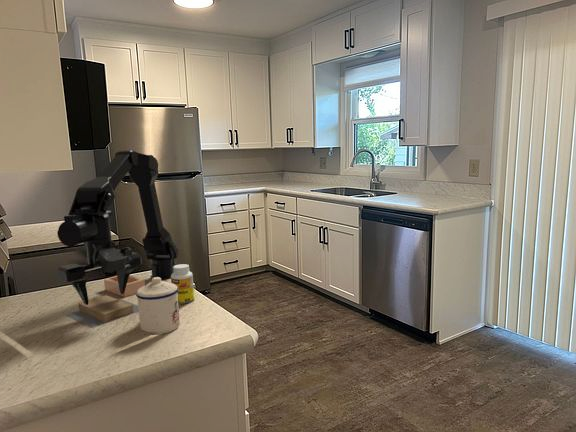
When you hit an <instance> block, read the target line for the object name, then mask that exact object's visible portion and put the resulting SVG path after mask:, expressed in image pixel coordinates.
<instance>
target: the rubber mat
mask: <svg viewBox="0 0 576 432" xmlns="http://www.w3.org/2000/svg"><path fill="white" fill-rule="evenodd" d="M116 299H118V300H121V301H124V302H126V303H129V304H132V305H133V312H134V313H131V314H128V315H125V316H122V317H119V318H117V319H114V320H111V321H108V322H103V321H101V320H99V319H97V318H95V317H92V316H90V315H88V314H86V313H83V312H81V311H79V309H78V310H75V311H71V312H69V313H64V315H65V316H66V317H68V318H70V319H72V320H74V321H76V322H79V323H80V324H82V325H84V326H87V327H89V328H91V329H93V328H95V327H99V326H102V325H104V324H108V323H111V322H113V321H116V320H119V319H122V318H125V317H129V316H131V315H134V314H137V313H139V308H138V304H134V303H131V302H129V301H126V300H124V299H121V298H116Z"/></svg>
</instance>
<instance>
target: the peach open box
mask: <svg viewBox="0 0 576 432" xmlns="http://www.w3.org/2000/svg"><path fill="white" fill-rule="evenodd" d="M103 284H104V285H103V286H104V290H105V291H107V292H110V293H113V294H115V295H118V296H121V297H124V298H126V297H129V296H133V295H136V293H137V291H138V289H140V288H141V287H143V286H146V280H145V278H140V277H136V276H133V275H131V274H130V275H129V278H128V281H127V285H126V288H125V292H124V294H121V293H120V290H119V284H118V278H117V275H114V276H110V277H107V278H103Z"/></svg>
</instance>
